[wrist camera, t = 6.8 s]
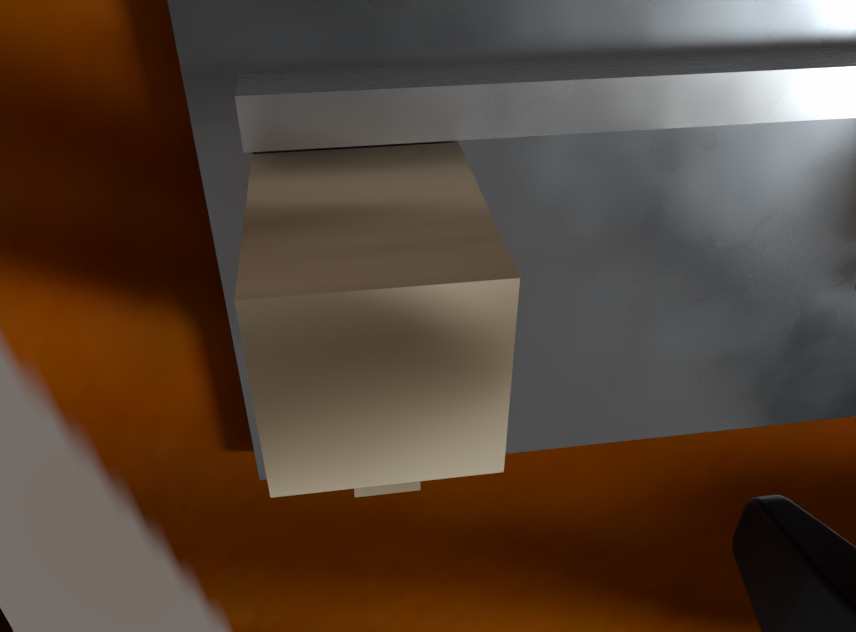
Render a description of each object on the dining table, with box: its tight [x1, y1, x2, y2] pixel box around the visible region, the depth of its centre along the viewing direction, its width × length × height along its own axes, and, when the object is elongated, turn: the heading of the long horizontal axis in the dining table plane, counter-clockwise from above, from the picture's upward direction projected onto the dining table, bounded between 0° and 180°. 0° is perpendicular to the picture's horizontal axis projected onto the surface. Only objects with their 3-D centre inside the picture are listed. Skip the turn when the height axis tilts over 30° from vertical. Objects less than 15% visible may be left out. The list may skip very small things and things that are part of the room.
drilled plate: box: [167, 0, 856, 480], centre depth 16 cm, size 14×20×4 cm
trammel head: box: [234, 142, 520, 498], centre depth 14 cm, size 5×4×5 cm
